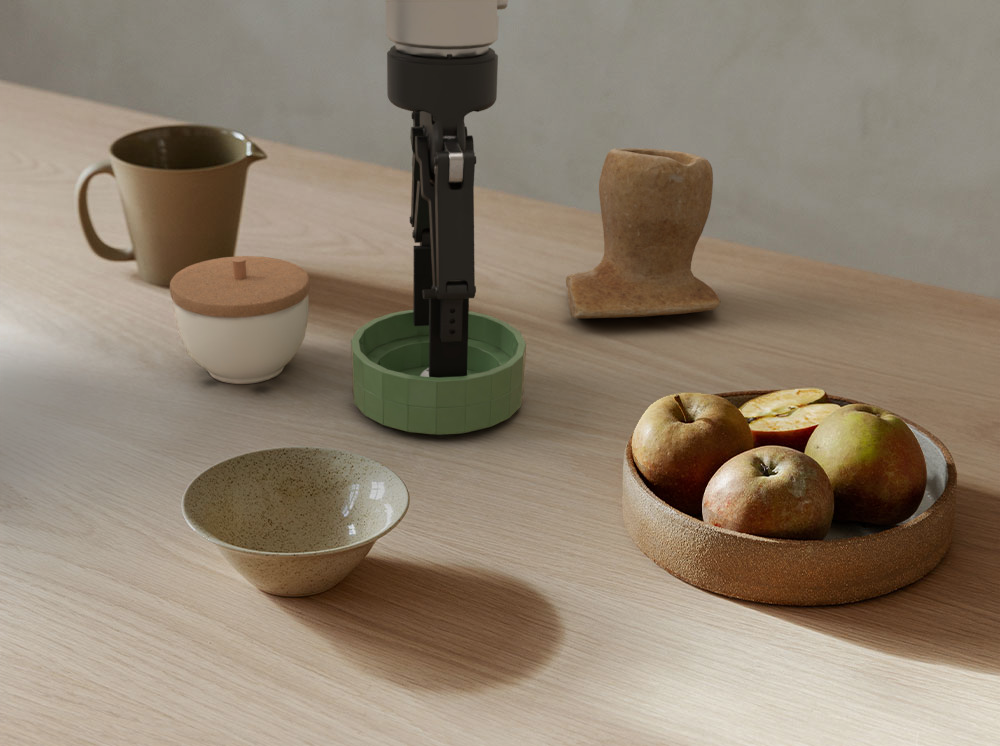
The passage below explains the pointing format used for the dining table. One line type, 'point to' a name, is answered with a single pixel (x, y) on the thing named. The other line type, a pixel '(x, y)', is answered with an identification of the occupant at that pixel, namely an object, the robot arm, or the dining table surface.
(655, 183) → the stone cup
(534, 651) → the dining table surface
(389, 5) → the robot arm
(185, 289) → the lidded sugar bowl
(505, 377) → the green bowl
